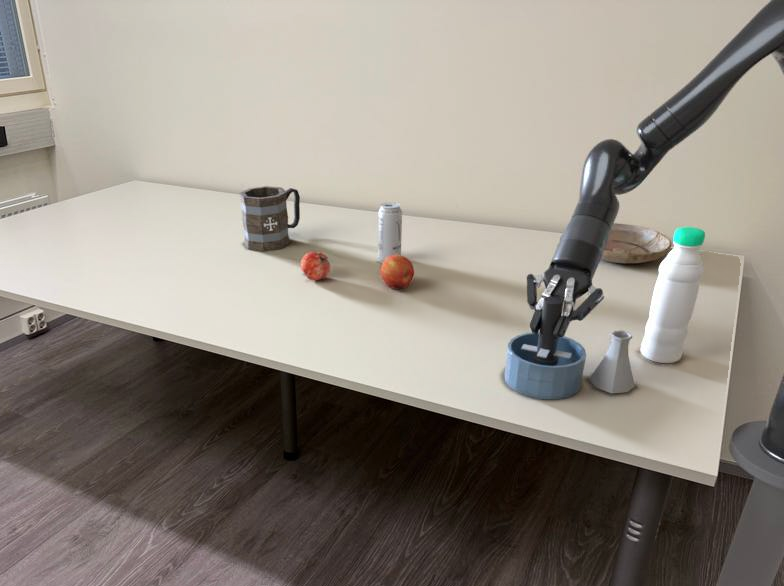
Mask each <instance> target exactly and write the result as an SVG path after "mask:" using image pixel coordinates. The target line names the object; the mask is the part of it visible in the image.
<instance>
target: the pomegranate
mask: <svg viewBox="0 0 784 586" xmlns="http://www.w3.org/2000/svg"><path fill="white" fill-rule="evenodd" d="M300 270H301V272H303V274H304V275H305V277H306V278H307V279H308V280H311V281H319V280H322V279H324V278H327V276H328V275H329V274H330V272H331V263H330V261H329V259H328V257H327V256H326V253H323V252H318V251H313V250H311V251H309V252H307V253H306V254H304V255H303V257H302V259H301V261H300Z"/></svg>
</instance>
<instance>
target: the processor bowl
mask: <svg viewBox="0 0 784 586" xmlns="http://www.w3.org/2000/svg"><path fill="white" fill-rule="evenodd" d="M538 339H539V332H538V334H534V333H532V332H525V333H522V334H518V335H515V336H514V337H513V338H511V339H510V340H509V341H508V343H507V347H506V348H507V349H506V356H505V365H504V376H503V377H504V381H505V383H506V385H508V386H509V388H510V389H512V390H513V391H514V392H517V393H519V394H522V395H523V396H526V397H530V398H534V399H539V400H560V399H566V398H569V397H571V396H573V395H575V394H577V392H578V391H579V390H580V388H581V384H582V381H583V376H584V375H583V374H584V371H585V364H586V359H587V352H586V349H585V347H584V346H583V345H582V344H581V343H579V342H578V341H576V340H574V339H572V338H571V337H568V336H565V335H564V336H563V337H560V338H559V340H558V341H557V348H556V350H557V351H562V352H567V353H572V355H571V357H570V359H569V358H564V357H559V356H558V363H557V365H555V366H547V365H540V364H535V363H534V362H533V361H532V356H533V353H534V352H533V351H528V350H523V349H521V348H522V346H523V344H526V345H531V346H536V347H537V346H538Z"/></svg>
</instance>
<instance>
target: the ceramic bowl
mask: <svg viewBox="0 0 784 586" xmlns="http://www.w3.org/2000/svg"><path fill="white" fill-rule="evenodd" d="M671 249H672V241H671V239H670V238H669V237H668V236H666V235H665V234H663V233H662V232H660V231H657V230H655V229H651V228H648V227H644V226H639V225H634V224H629V223H628V224H627V223H616V222H614V224H613V226H612V228H611V231H610V234H609V238H608V242H607V245H606V247H605V249H604V252H603V254H602V257H601V259H600V261H605V262H610V263H615V264H641V263H648V262H653V261H656V260H658V259H660V258H662V257H664V256H665V255H667V254H668V253H669V252H670V251H671Z"/></svg>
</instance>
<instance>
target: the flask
mask: <svg viewBox="0 0 784 586" xmlns="http://www.w3.org/2000/svg"><path fill="white" fill-rule="evenodd" d="M610 337H611V340H610V345H609V347H608V349H607V352H606V354H605V355H604V356H603V358H602V359H601V361H600V362H599V364H598V365H597V366H596V368H595V370H594V371H593V372H592V373H591V375H590V376H589V378H588V380H589V382H591V384H592V385H593V386H594V387H595V388H596V389H599V390H602V391H604V392H607V393H609V394H622V393H628V392H630V391H631V390H632V389H633V388H634V387H636V384H635V378H634V374H633V370H632V366H631V361H630V355H629V345H630V340H631V339H632V338H633V335H632V334H631V333H630V332H628V331H625V330H614V331H612V332H610Z"/></svg>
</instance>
